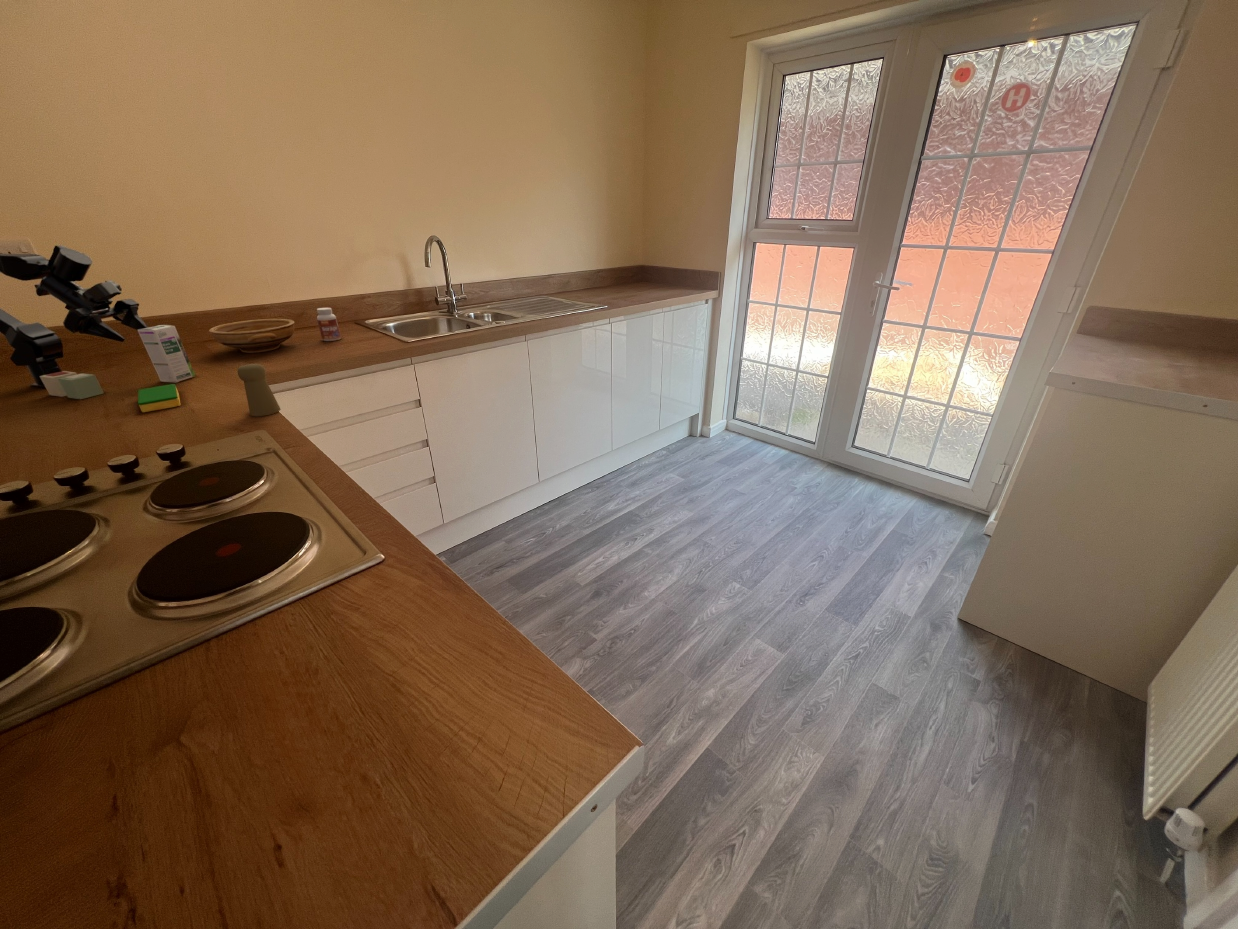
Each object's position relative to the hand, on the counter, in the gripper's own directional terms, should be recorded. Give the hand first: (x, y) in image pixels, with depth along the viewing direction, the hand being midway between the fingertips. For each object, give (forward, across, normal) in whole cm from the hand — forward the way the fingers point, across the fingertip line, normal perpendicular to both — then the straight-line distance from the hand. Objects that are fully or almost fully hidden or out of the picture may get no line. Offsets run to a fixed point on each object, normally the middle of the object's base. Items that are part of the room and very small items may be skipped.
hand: (137, 336), depth 135 cm
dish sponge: (+20, -20, -2) cm, 28 cm away
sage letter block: (+3, -12, +14) cm, 19 cm away
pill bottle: (+28, +47, -11) cm, 56 cm away
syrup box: (+13, 0, +5) cm, 14 cm away
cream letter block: (-2, -10, +19) cm, 22 cm away
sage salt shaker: (+41, -30, -23) cm, 56 cm away
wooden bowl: (+15, +36, +2) cm, 39 cm away
